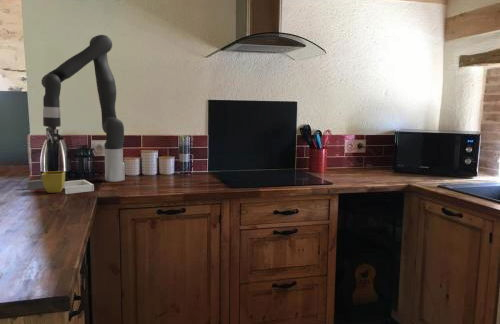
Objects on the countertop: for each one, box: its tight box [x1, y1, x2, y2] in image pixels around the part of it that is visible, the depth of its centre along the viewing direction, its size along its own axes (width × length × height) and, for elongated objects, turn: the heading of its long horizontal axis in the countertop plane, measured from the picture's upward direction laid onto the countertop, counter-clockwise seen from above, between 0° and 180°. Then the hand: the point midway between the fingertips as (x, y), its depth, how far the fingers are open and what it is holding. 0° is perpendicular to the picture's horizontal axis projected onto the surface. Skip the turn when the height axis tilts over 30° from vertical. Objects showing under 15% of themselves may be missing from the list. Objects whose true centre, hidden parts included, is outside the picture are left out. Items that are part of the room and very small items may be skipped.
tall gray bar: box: [25, 179, 45, 191], centre depth 196 cm, size 12×3×4 cm, turn 131°
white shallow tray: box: [62, 179, 95, 195], centre depth 193 cm, size 12×15×3 cm
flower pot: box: [41, 170, 66, 194], centre depth 187 cm, size 9×9×9 cm
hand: (52, 150), depth 198 cm, fingers open, 8 cm apart
